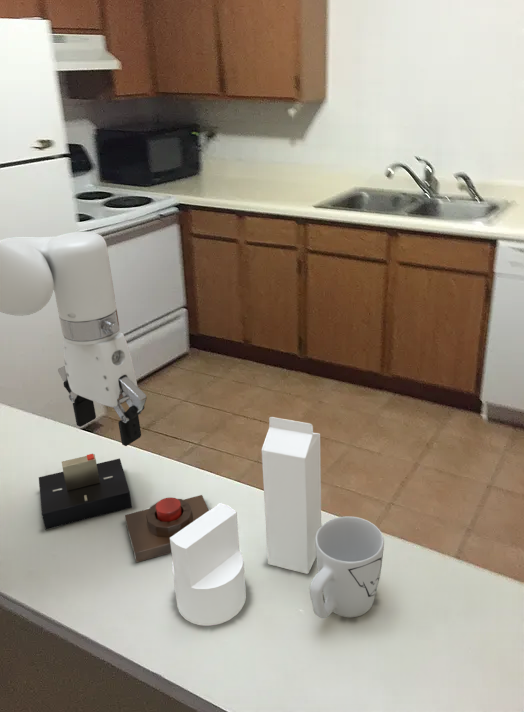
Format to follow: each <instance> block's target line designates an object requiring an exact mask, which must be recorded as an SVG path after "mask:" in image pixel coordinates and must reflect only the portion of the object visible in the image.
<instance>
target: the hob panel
mask: <svg viewBox="0 0 524 712" xmlns="http://www.w3.org/2000/svg"><path fill="white" fill-rule="evenodd" d="M96 464H97V469H98V475H99V481H100V483H97V484H93V485H89V486H85V487H81V488H77V489H73V490H69V491H67V487H66V482H65V477H64V473H63V471H59V472H55V473H50V474H47V475H42V476H39V477H38V485H39V486H38V487H39V496H40V507H41V516H42V521H43V525H44V529H45V531H47V530H51V529H55V528H57V527H62V526H67V525H70V524H73V523H77V522H81V521H85V520H89V519H93V518H96V517H101V516H105V515H108V514H113V513H117V512H120V511H124V510H127V509H132V508H133V504H132V498H131V492H130V488H129V485H128V481H127V478H126V474H125V470H124V468H123V464H122V461H121V458H115V459H111V460H107V461H102V462H98V463H96Z"/></svg>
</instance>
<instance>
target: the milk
mask: <svg viewBox="0 0 524 712" xmlns="http://www.w3.org/2000/svg"><path fill="white" fill-rule="evenodd" d="M268 425H269V426H268V430H267V433H266V436H265V438H264V442H263V444H262V446H261V465H262V482H263V485H262V486H263V500H264V521H265V534H266V535H265V537H266V552H267V553H266V554H267V564H268V565H269V566H274V567H278V568H282V569H286V570H289V571H294V572H298V573H302V574H305V575H309V573H310V571H311V569H312V567H313V565H314V563H315V560H317V557H316V547H315V538H316V534H317V531H318V530H319V528H320V527H321V526H322V480H321V479H322V470H321V469H322V468H321V465H322V464H321V463H322V462H321V461H322V460H321V433H319V432H314V426H313V424H312V423H310V422H305V421H298V420H292V419H286V418H281V417H275V416H270V417H269V418H268Z"/></svg>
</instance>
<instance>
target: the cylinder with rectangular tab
mask: <svg viewBox="0 0 524 712" xmlns="http://www.w3.org/2000/svg"><path fill="white" fill-rule="evenodd" d="M238 525H239V524H238V512H237V511H236V510H235V509H234V508H233V507H231V506H230V505H228V504H226V503H222V502H219V503H217V504H216V505H215V506H213V507H212V508H210V509H209V511H208V512H206V513H205V514H203V515H202V516H200V517H199V518H198V519H196V520H195V521H193V522H192V523H190V524H189V525H187V526H186V527H185V528H183V529H182V530H180V531H179V532H177V533H176V534H174V535H173V536H172V537H170V544H171V558H172V564H171V566H172V577H173V584H174V592H175V593H174V594H175V600H176V608H177V611H178V612H179V614H180V615H181V617H183V618H184V619H185V620H186V621H188V622H189V623H191V624H192V625H193V624H194V625H198V626H206V627H207V626H209V627H210V626H216V625H217V626H218V625H221V624H223V623H226V622H228V621H230V620H231V619H233V618H234V617H236V616H237V615H238V614H239V613H240V612H241V610H242V609H243V607H244V605H245V603H246V599H247V589H246V576H245V575H246V574H245V564H244V563H245V562H244V556H243V553H242V551H241V549H240V539H239V538H240V537H239V526H238Z"/></svg>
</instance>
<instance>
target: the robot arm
mask: <svg viewBox="0 0 524 712" xmlns="http://www.w3.org/2000/svg"><path fill="white" fill-rule="evenodd" d="M53 293H54V297H55V302H56V307H57V311H58V312H57V313H58V317H59V322H60V328H61V333H62V351H63V360H64V362H63V363H64V365H63V366H60V367H59V368H58V369H57V372H58V374H59V376H60V378H61V380H62V381H63V387H64V388H65V390H66V391H67V392H68V399H69V401H70V402H71V403H72V408H73V413H74V418H75V423H76V426H78V427H79V428H82V427H83V426H85V425H87V424H89V423H90V422H92V421H94V420H96V418H97V414H96V408H95V403H97V404H99V405H103V406H106V407H109V408H113V410H114V411H115V413H116V414H117V416H118V418H119V419H120V420H119V421H118V429H119V435H120V436H119V437H120V442H121V445H122V446H124V447H127V446H129V445H131V444H132V443H134V442H135V441H137V440H138V439H140V438H141V437H142V431H141V424H140V418H139V417H140V415H141V414H142V412H143V411H144V410H145V405H146V402H147V397H148V396H147V394H146V393H145V392H144V391H142V389H141V388H139V386H138V381H137V380H138V379H137V376H136V370H135V367H134V361H133V357H132V354H131V351H130V347H129V344H128V342H127V339H126V336H125V334H124V333H123V332H121V329H120V321H119V316H118V309H117V302H116V295H115V290H114V283H113V277H112V269H111V264H110V257H109V250H108V245H107V242H106V240H105V238H104V236H102V235H101V234H99V233H98V232H94V231H72V232H66V233H62V234H59V235H57V236H56V235H55V236H11V237H5V238H3V239H0V313H2V314H6V315H9V316H16V317H25V316H30V315H33V314H35V313H37V312H39V311H41V310H42V309H43V308H44V307H46V306H47V304H48V303H49V302H50V300H51V298H52V296H53ZM120 395H122V397H120ZM124 403H126V404H127V406H128V409H127V410H126V409H125V408H124V407H123V404H124Z"/></svg>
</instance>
